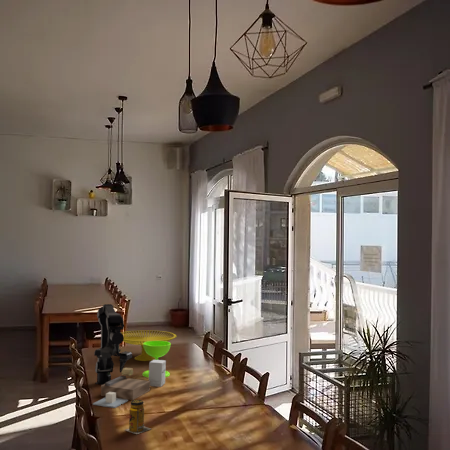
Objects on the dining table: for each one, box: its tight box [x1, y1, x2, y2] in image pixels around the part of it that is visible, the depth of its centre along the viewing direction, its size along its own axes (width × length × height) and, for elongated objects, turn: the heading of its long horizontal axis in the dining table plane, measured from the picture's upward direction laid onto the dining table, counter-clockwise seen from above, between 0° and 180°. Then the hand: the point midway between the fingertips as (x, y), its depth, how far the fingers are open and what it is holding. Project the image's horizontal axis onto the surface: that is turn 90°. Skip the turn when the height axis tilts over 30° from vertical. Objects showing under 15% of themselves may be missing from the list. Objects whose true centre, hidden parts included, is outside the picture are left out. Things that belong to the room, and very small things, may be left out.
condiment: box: [125, 399, 152, 435], centre depth 230 cm, size 7×8×12 cm
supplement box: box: [148, 359, 167, 388], centre depth 300 cm, size 7×7×13 cm
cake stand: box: [121, 329, 177, 362], centre depth 361 cm, size 40×40×15 cm
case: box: [100, 375, 151, 401], centre depth 282 cm, size 18×18×6 cm
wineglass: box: [141, 341, 172, 379], centre depth 321 cm, size 16×16×18 cm
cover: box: [92, 392, 129, 409], centre depth 266 cm, size 12×12×5 cm
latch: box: [121, 367, 134, 377], centre depth 294 cm, size 4×4×3 cm
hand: (112, 371), depth 277 cm, fingers open, 9 cm apart
